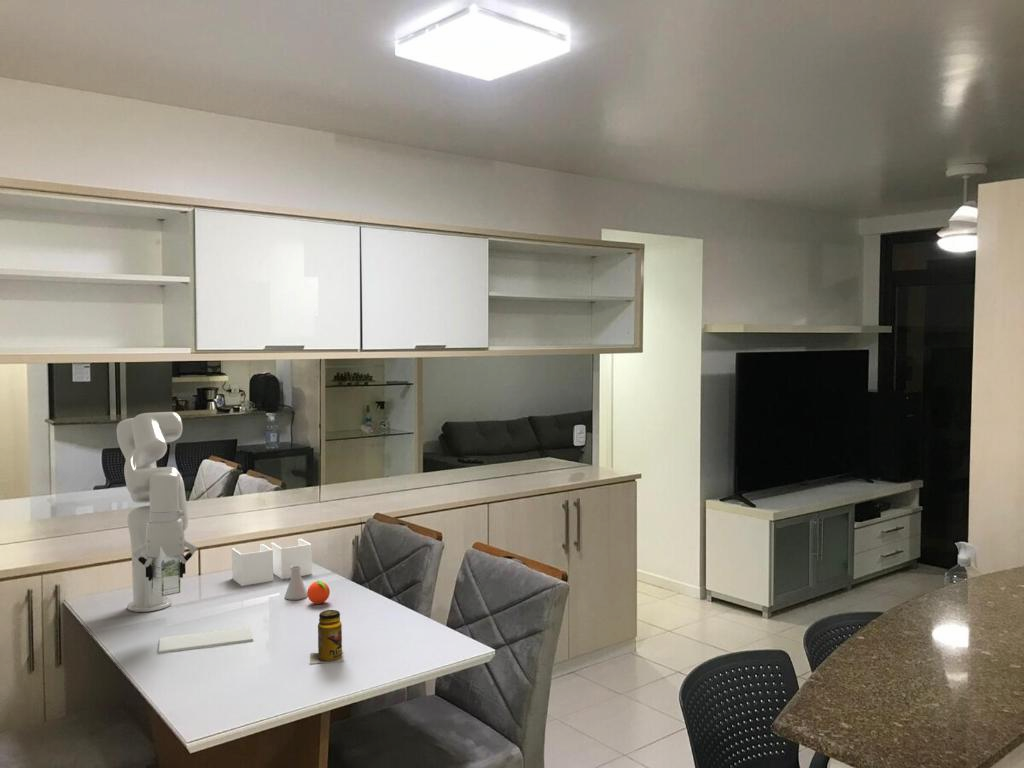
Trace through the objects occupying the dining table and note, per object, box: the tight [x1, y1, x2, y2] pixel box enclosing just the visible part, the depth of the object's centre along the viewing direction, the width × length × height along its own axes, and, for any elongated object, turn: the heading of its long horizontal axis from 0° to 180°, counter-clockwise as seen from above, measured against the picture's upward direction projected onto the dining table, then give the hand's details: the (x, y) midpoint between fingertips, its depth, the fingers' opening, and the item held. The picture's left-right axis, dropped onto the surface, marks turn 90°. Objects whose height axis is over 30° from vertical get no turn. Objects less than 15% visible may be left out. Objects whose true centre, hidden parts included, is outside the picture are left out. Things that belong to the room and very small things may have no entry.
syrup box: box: [151, 547, 181, 597], centre depth 237 cm, size 6×6×14 cm
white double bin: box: [231, 538, 313, 587], centre depth 297 cm, size 25×11×11 cm, turn 124°
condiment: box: [309, 609, 345, 665], centre depth 218 cm, size 7×8×12 cm
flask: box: [284, 566, 308, 601], centre depth 272 cm, size 7×7×10 cm
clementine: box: [307, 580, 331, 605], centre depth 265 cm, size 8×7×7 cm
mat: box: [158, 626, 254, 654], centre depth 232 cm, size 11×24×1 cm, turn 111°
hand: (165, 577), depth 236 cm, fingers closed on syrup box, 7 cm apart
